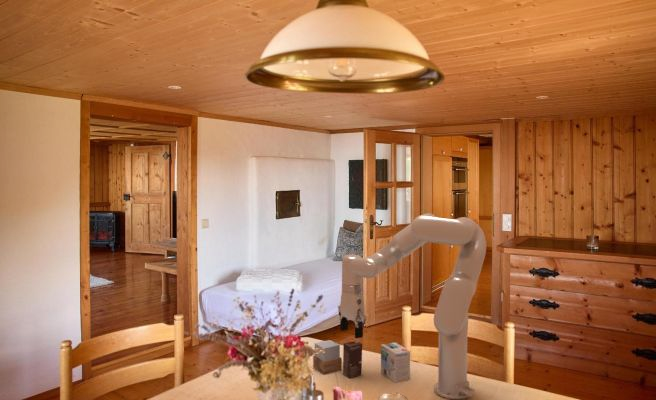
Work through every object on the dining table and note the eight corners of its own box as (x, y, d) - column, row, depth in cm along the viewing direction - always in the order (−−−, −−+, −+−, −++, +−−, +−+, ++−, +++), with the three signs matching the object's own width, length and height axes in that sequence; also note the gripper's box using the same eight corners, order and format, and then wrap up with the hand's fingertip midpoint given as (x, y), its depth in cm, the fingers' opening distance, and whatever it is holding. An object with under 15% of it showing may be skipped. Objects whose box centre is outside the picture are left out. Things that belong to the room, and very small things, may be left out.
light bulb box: (380, 372, 185) (380, 344, 184) (395, 369, 187) (395, 341, 187) (394, 383, 175) (394, 353, 174) (410, 379, 177) (410, 350, 177)
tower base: (341, 370, 187) (341, 358, 186) (323, 375, 182) (323, 362, 182) (330, 364, 193) (330, 351, 193) (313, 368, 189) (313, 355, 189)
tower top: (339, 357, 187) (339, 344, 186) (324, 361, 183) (324, 348, 183) (330, 352, 192) (329, 339, 192) (314, 355, 189) (314, 343, 189)
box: (349, 379, 178) (349, 346, 178) (342, 374, 182) (342, 343, 182) (362, 375, 182) (362, 343, 181) (355, 371, 185) (355, 340, 185)
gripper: (374, 292, 175) (373, 338, 176) (347, 282, 190) (346, 326, 191) (356, 294, 171) (356, 342, 172) (331, 284, 186) (330, 329, 187)
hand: (351, 333), depth 181 cm, fingers open, 9 cm apart
